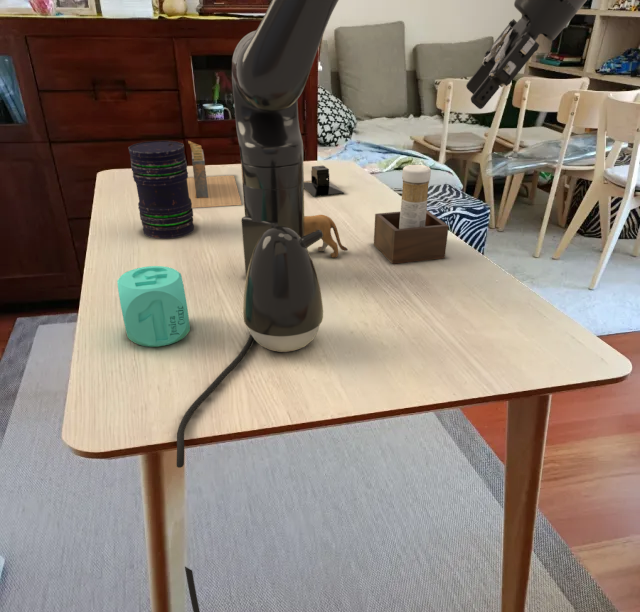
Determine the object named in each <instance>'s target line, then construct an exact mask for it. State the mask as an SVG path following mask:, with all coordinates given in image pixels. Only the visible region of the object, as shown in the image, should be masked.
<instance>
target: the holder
mask: <svg viewBox="0 0 640 612" xmlns="http://www.w3.org/2000/svg"><path fill="white" fill-rule="evenodd" d="M399 223H400V211H389V212H380V213H375V214H374V229H373V230H374V231H373V246H374V247H375V248H376V249H377V250H378V251H379V253H381V254H382V255H383V256H384V257H385V258H386V259H387V260H388V261H389V262H390V263H391V264H392V265H395V264H405V263H411V262H412V263H413V262H422V261H423V262H424V261H431V260H440V259H445V258H446V251H447V243H448V234H449V227H450V226H449V224H447V223H446V222H444V221H443V220H442V219H440V218H438V217H437V216H436V215H434V214H433V213H432V212H431V211H429V210H427V211H426V222H425V226H424V227H414V228H404V229H399Z"/></svg>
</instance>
